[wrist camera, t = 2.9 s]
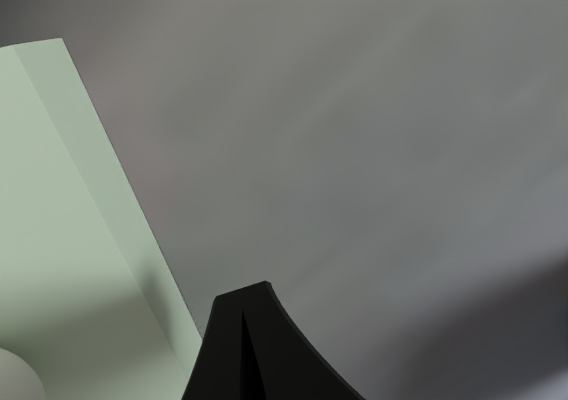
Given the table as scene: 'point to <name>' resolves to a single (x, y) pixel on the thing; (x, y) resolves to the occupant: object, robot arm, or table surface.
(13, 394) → the ball
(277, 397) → the robot arm
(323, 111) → the table surface
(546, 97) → the table surface
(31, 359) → the putting board
